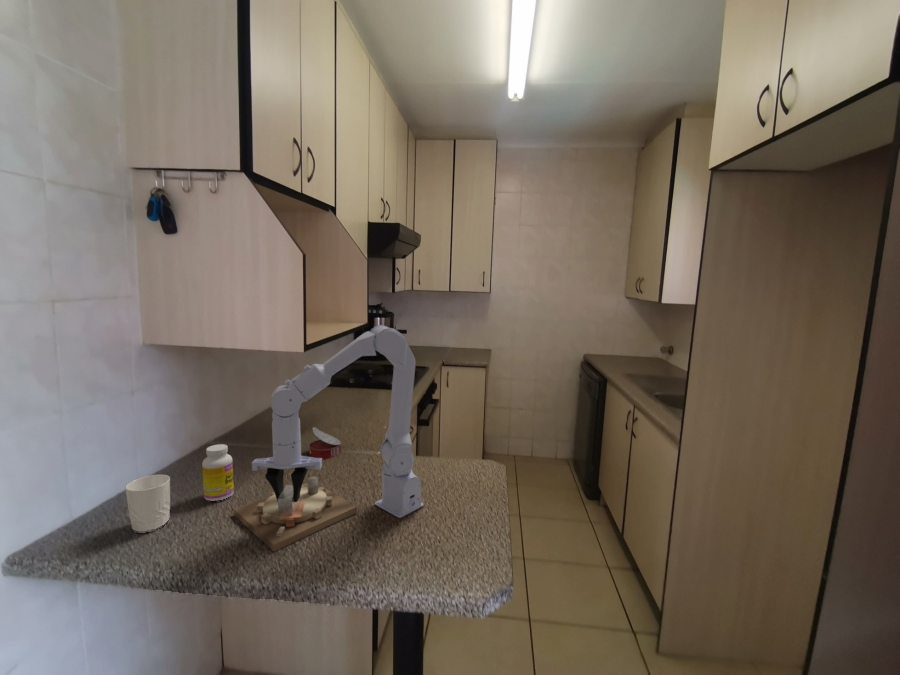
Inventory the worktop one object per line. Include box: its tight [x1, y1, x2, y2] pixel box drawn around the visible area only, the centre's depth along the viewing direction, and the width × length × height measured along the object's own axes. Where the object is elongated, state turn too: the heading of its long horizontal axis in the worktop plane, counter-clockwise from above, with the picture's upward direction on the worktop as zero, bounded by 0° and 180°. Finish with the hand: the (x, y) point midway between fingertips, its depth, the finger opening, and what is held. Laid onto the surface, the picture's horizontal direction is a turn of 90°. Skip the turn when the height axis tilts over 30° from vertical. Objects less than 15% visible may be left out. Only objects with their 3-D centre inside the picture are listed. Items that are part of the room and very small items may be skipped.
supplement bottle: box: [201, 443, 235, 502], centre depth 104 cm, size 7×7×13 cm
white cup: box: [124, 474, 171, 531], centre depth 91 cm, size 8×8×10 cm
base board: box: [233, 481, 358, 552], centre depth 97 cm, size 20×20×2 cm
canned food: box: [308, 426, 342, 460], centre depth 134 cm, size 11×10×10 cm
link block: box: [278, 484, 300, 515], centre depth 92 cm, size 6×3×4 cm, turn 3°
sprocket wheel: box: [257, 476, 332, 527], centre depth 96 cm, size 16×16×5 cm
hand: (288, 499), depth 92 cm, fingers closed on link block, 3 cm apart
